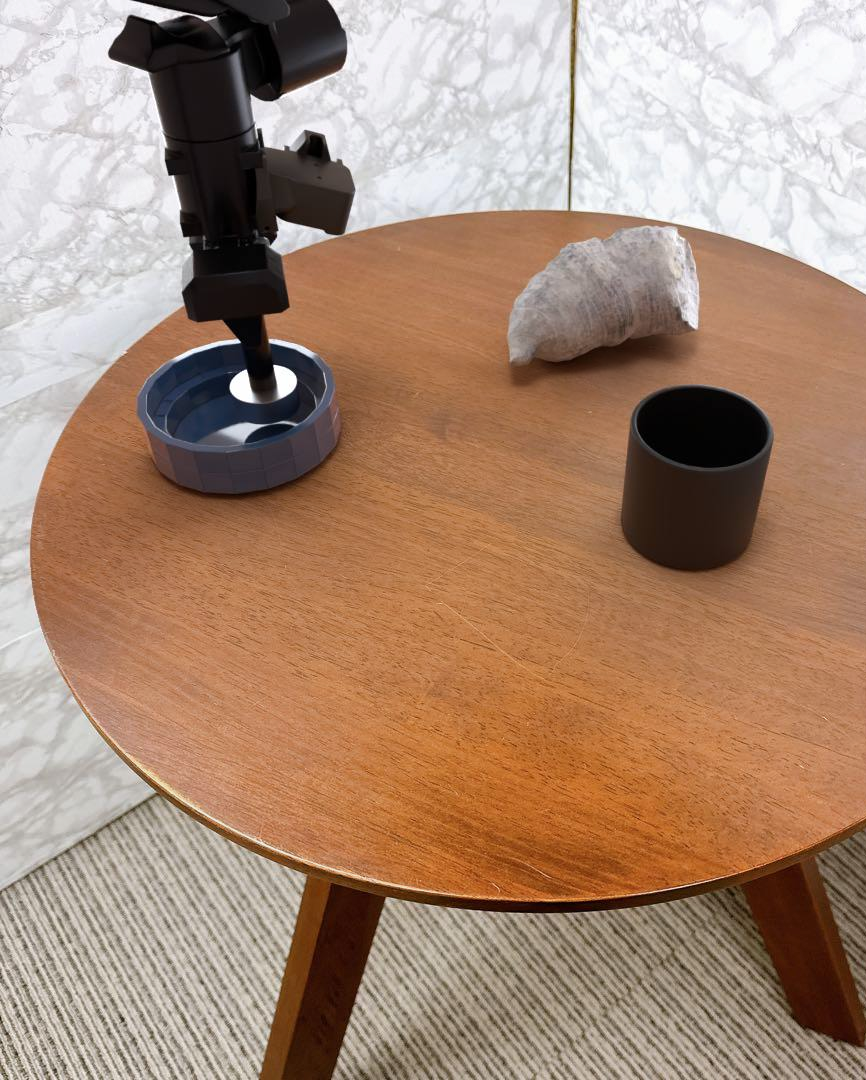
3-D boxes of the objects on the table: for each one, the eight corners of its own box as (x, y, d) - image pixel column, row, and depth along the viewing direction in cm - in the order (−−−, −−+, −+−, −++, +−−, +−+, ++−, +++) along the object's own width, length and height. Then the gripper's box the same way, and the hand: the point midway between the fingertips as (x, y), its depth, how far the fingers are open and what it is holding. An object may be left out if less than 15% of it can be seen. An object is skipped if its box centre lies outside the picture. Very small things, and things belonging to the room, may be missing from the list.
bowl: (151, 513, 73) (134, 465, 70) (152, 397, 83) (138, 350, 80) (352, 482, 76) (345, 435, 73) (330, 374, 86) (323, 328, 83)
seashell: (502, 387, 85) (501, 279, 78) (523, 296, 95) (524, 194, 89) (696, 402, 84) (712, 294, 77) (695, 308, 94) (710, 206, 88)
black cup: (804, 522, 74) (832, 422, 67) (680, 592, 68) (697, 490, 62) (715, 454, 79) (732, 356, 73) (593, 514, 74) (601, 413, 68)
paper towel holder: (236, 429, 76) (205, 299, 69) (233, 390, 80) (203, 263, 72) (303, 419, 77) (280, 290, 70) (297, 382, 81) (275, 255, 73)
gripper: (356, 176, 59) (381, 397, 70) (323, 62, 72) (348, 264, 83) (155, 194, 57) (212, 420, 67) (158, 74, 70) (206, 279, 80)
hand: (252, 338), depth 74 cm, fingers closed on paper towel holder
